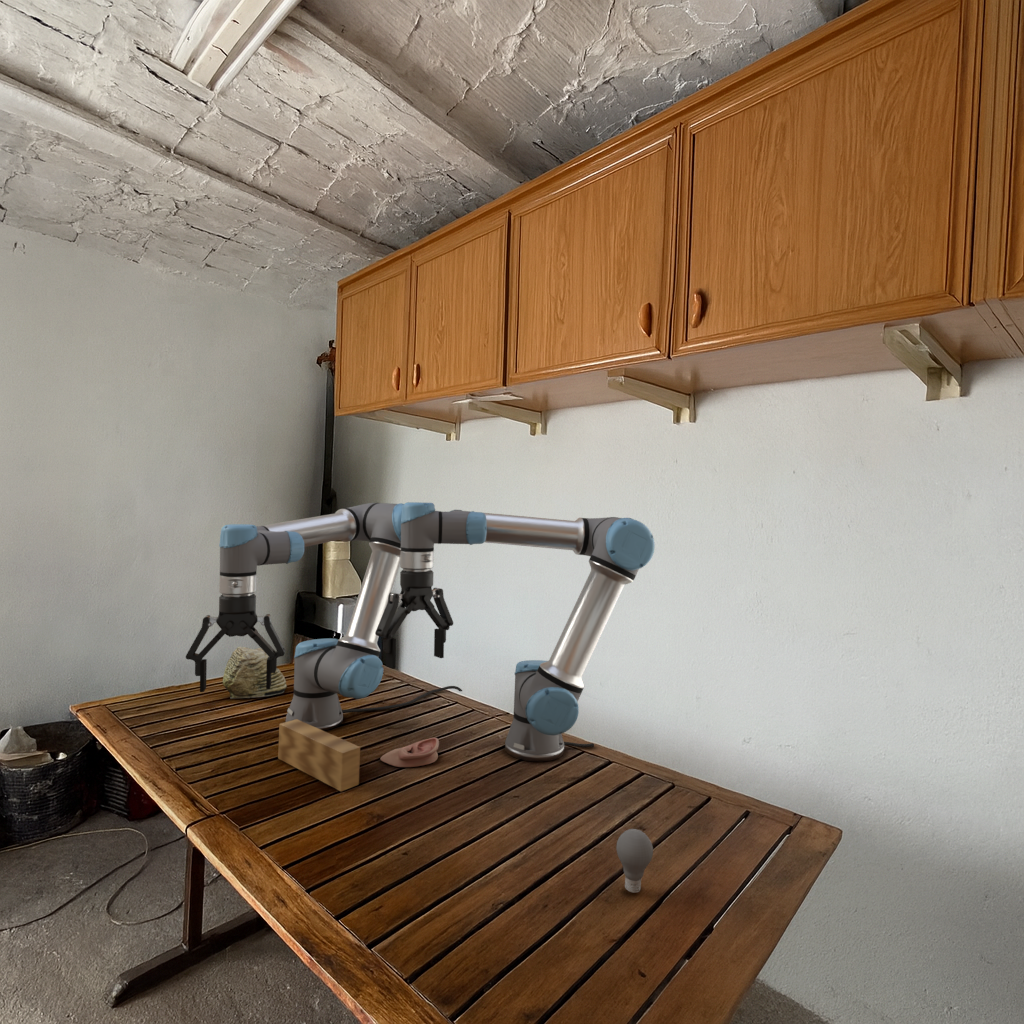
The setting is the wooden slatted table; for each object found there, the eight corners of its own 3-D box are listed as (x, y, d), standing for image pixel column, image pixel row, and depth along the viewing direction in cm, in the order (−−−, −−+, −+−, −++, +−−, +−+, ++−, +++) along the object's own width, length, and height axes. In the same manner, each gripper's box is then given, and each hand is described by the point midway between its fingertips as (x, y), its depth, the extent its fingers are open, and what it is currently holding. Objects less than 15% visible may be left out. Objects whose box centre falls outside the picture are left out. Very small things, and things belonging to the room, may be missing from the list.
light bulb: (610, 879, 108) (613, 822, 108) (644, 879, 109) (647, 822, 109) (619, 902, 102) (622, 840, 102) (655, 901, 103) (658, 840, 103)
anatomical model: (375, 747, 151) (394, 730, 162) (374, 764, 151) (393, 746, 162) (428, 754, 148) (443, 736, 159) (427, 771, 148) (443, 752, 159)
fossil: (218, 695, 195) (220, 647, 195) (278, 685, 208) (279, 640, 207) (228, 703, 189) (230, 653, 188) (289, 692, 201) (290, 645, 201)
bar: (278, 758, 152) (279, 723, 152) (295, 752, 156) (296, 719, 155) (341, 791, 136) (342, 753, 136) (358, 784, 140) (360, 747, 140)
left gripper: (171, 597, 134) (170, 696, 134) (295, 596, 140) (293, 691, 141) (180, 591, 141) (179, 686, 142) (298, 590, 147) (296, 680, 148)
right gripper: (379, 575, 133) (378, 675, 134) (468, 567, 151) (467, 656, 151) (360, 571, 139) (359, 668, 139) (448, 564, 156) (447, 650, 157)
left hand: (236, 688), depth 141 cm, fingers open, 13 cm apart
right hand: (415, 662), depth 145 cm, fingers open, 13 cm apart
